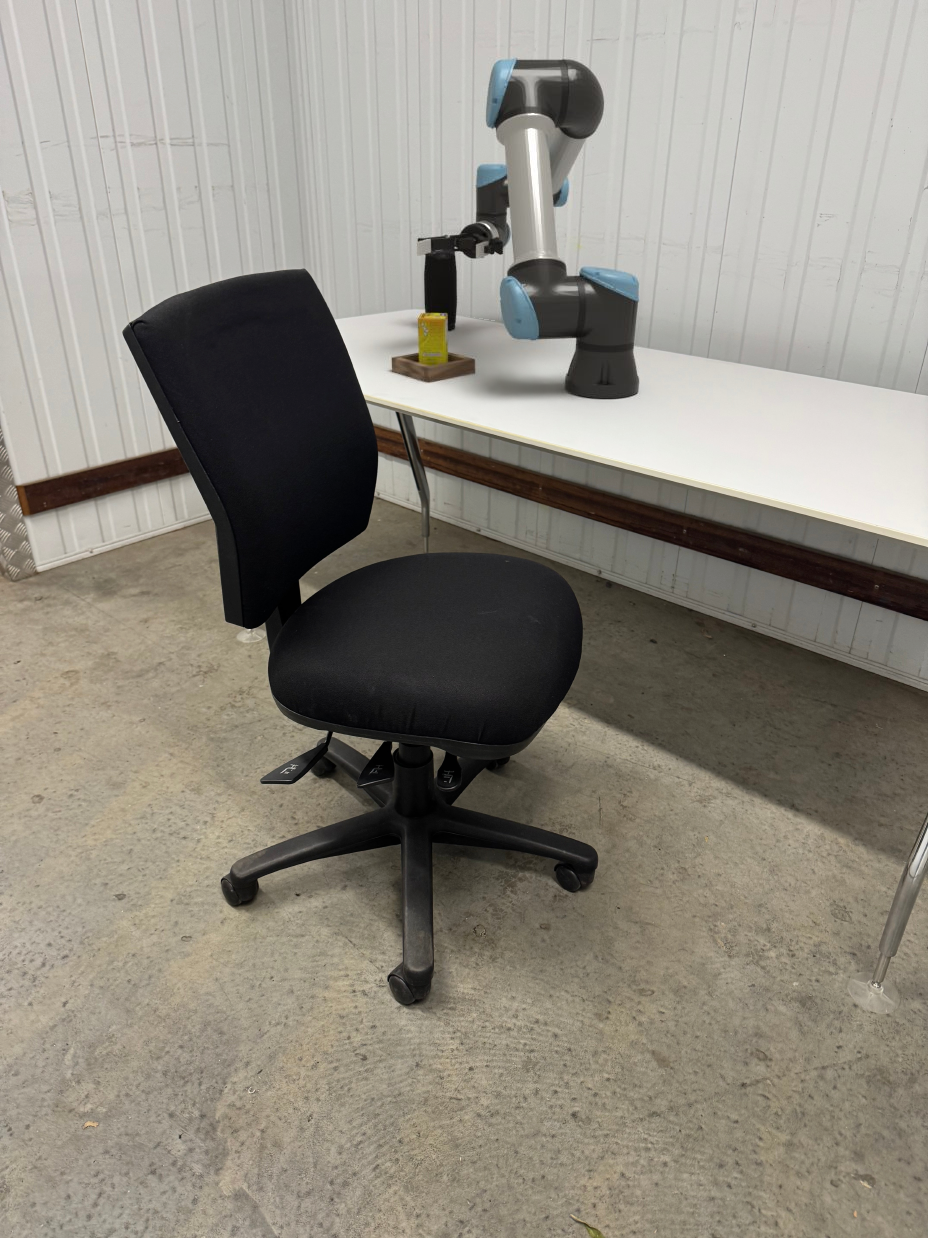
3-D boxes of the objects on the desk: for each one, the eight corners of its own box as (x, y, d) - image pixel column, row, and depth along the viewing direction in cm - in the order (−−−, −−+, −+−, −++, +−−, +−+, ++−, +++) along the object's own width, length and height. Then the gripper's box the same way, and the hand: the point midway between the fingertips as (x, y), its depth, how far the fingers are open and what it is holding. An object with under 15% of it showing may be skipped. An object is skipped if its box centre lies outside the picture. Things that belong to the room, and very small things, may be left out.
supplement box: (421, 363, 199) (420, 312, 193) (448, 363, 198) (448, 312, 193) (418, 369, 193) (417, 317, 188) (445, 370, 193) (445, 317, 188)
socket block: (474, 372, 196) (475, 358, 194) (429, 382, 188) (428, 368, 187) (437, 362, 204) (437, 348, 203) (392, 371, 197) (391, 357, 195)
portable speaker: (453, 324, 243) (453, 247, 234) (459, 331, 235) (459, 252, 226) (422, 325, 242) (421, 248, 232) (427, 332, 234) (426, 252, 224)
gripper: (528, 259, 209) (502, 271, 191) (429, 254, 216) (395, 265, 198) (530, 224, 205) (503, 233, 187) (429, 220, 212) (394, 229, 194)
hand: (447, 249), depth 193 cm, fingers open, 13 cm apart
